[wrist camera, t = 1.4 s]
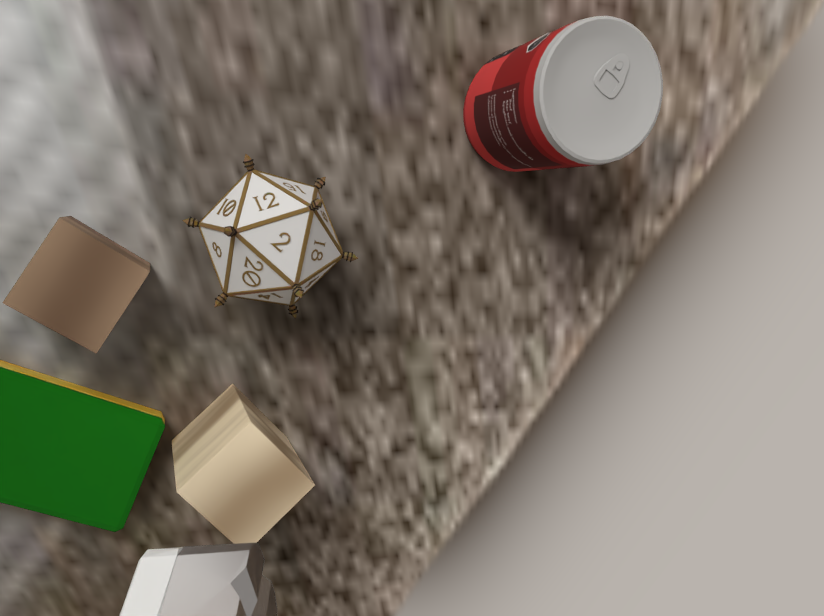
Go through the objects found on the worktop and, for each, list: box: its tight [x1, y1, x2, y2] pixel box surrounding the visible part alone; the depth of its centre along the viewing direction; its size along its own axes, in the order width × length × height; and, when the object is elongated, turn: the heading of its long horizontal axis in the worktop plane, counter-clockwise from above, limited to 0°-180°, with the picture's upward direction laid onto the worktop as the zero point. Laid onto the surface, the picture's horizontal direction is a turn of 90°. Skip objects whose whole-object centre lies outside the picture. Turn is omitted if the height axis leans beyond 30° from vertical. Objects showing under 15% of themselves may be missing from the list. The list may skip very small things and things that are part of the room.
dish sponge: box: [0, 360, 165, 532], centre depth 44 cm, size 7×14×2 cm, turn 66°
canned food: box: [463, 16, 663, 172], centre depth 47 cm, size 8×8×11 cm
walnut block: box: [3, 216, 150, 353], centre depth 42 cm, size 5×5×6 cm
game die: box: [183, 154, 358, 318], centre depth 44 cm, size 9×8×10 cm
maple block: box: [172, 384, 315, 544], centre depth 44 cm, size 5×5×9 cm
